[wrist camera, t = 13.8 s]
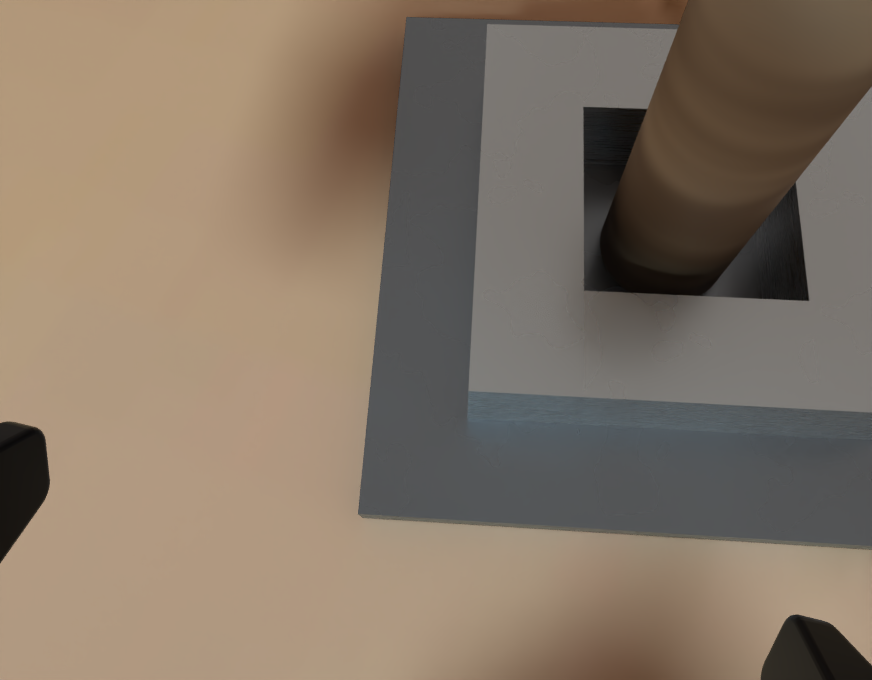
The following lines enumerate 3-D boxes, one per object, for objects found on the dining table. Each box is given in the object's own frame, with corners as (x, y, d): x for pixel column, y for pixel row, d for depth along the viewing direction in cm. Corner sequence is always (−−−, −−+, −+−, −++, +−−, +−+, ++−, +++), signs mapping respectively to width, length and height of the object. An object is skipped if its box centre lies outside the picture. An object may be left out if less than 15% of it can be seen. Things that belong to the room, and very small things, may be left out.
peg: (682, 328, 23) (901, 57, 11) (575, 256, 24) (680, -59, 12) (749, 236, 24) (1011, -97, 12) (644, 171, 25) (799, -194, 13)
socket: (982, 556, 21) (1095, 546, 17) (362, 517, 22) (342, 500, 18) (893, 50, 27) (962, -38, 23) (408, 36, 28) (400, -52, 24)
